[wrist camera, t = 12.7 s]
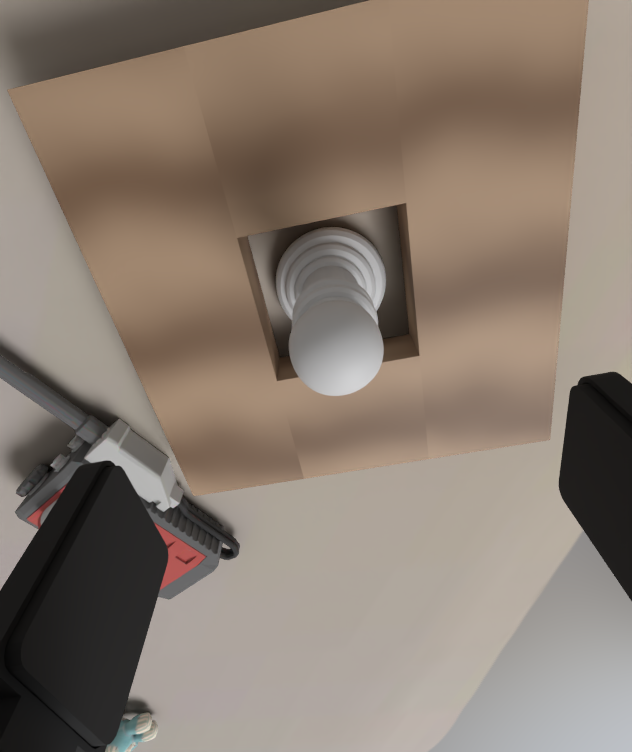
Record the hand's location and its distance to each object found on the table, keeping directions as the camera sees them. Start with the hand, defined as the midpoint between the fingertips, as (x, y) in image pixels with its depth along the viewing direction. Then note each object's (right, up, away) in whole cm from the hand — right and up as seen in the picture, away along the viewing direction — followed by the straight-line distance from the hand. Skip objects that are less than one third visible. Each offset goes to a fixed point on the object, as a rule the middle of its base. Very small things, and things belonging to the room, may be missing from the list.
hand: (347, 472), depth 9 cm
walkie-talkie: (-14, -4, +19) cm, 24 cm away
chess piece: (0, +7, +13) cm, 14 cm away
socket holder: (0, +7, +12) cm, 14 cm away
